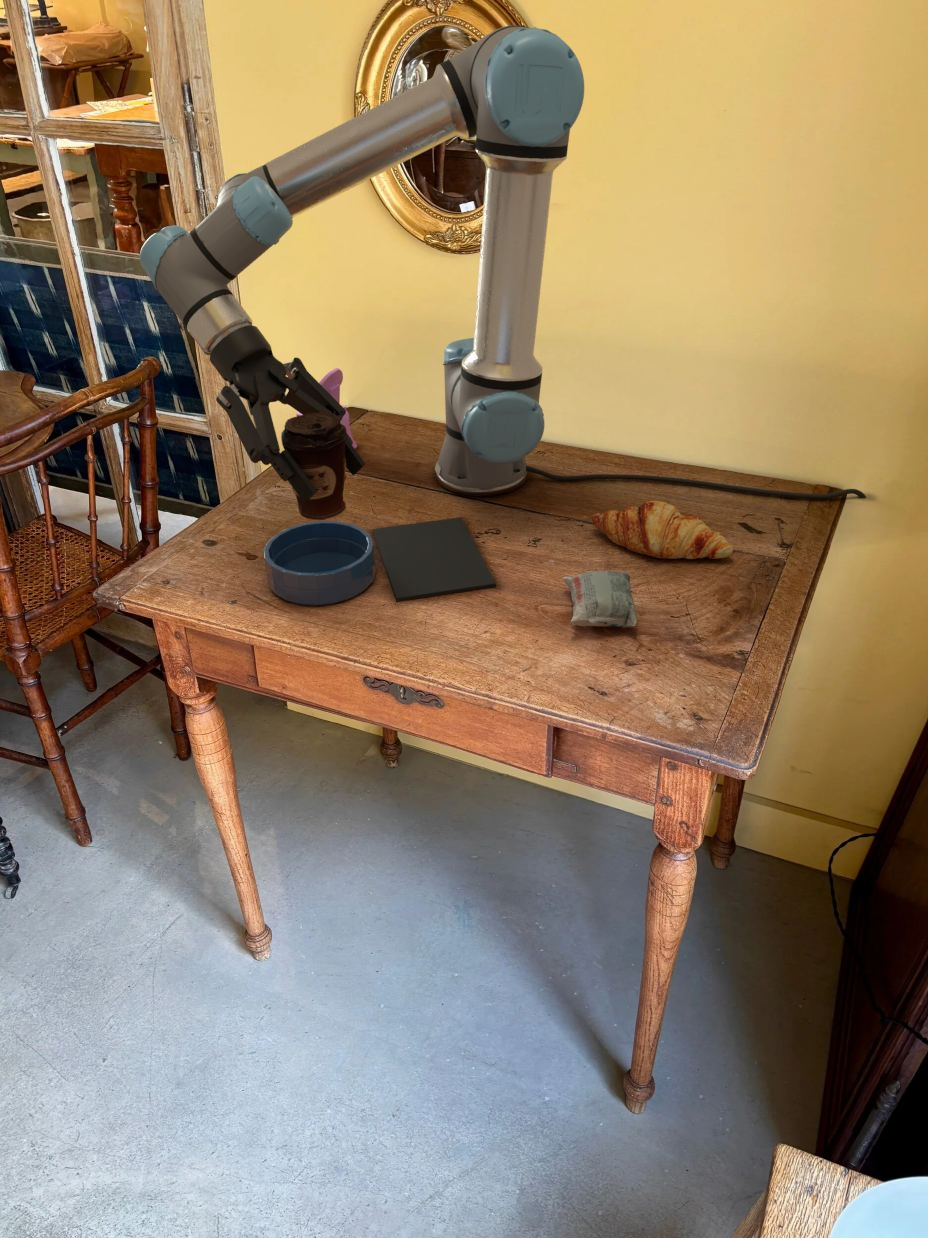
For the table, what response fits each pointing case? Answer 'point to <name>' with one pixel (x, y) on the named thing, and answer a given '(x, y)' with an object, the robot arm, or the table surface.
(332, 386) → the toy chair
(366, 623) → the table surface
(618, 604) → the packaged food
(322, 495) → the coffee cup
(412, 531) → the mat
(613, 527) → the croissant
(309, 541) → the bowl
